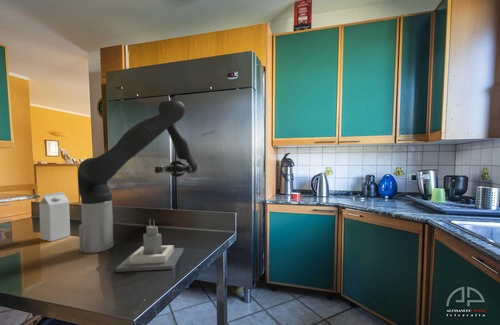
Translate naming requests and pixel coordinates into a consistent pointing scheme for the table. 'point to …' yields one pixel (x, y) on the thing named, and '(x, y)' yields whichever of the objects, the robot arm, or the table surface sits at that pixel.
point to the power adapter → (152, 240)
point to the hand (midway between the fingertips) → (168, 169)
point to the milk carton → (54, 217)
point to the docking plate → (151, 260)
